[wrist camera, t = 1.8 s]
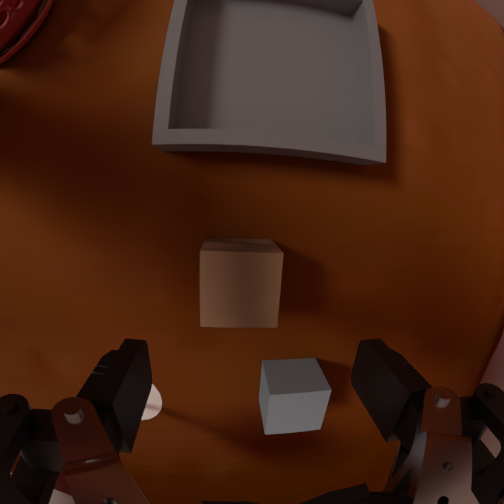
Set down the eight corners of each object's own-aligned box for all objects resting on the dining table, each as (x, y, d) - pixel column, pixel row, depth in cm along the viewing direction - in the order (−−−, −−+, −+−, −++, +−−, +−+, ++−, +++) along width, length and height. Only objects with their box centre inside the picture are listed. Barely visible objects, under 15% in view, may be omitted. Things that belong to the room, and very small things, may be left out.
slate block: (258, 399, 25) (264, 434, 20) (262, 359, 24) (269, 394, 19) (307, 396, 26) (320, 429, 21) (314, 357, 25) (331, 389, 20)
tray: (163, 151, 20) (151, 144, 16) (186, -7, 16) (182, -29, 13) (364, 165, 21) (386, 162, 18) (356, 14, 18) (371, -3, 14)
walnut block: (205, 298, 22) (200, 326, 18) (205, 236, 21) (199, 250, 17) (266, 299, 23) (276, 327, 18) (270, 238, 22) (283, 253, 17)
